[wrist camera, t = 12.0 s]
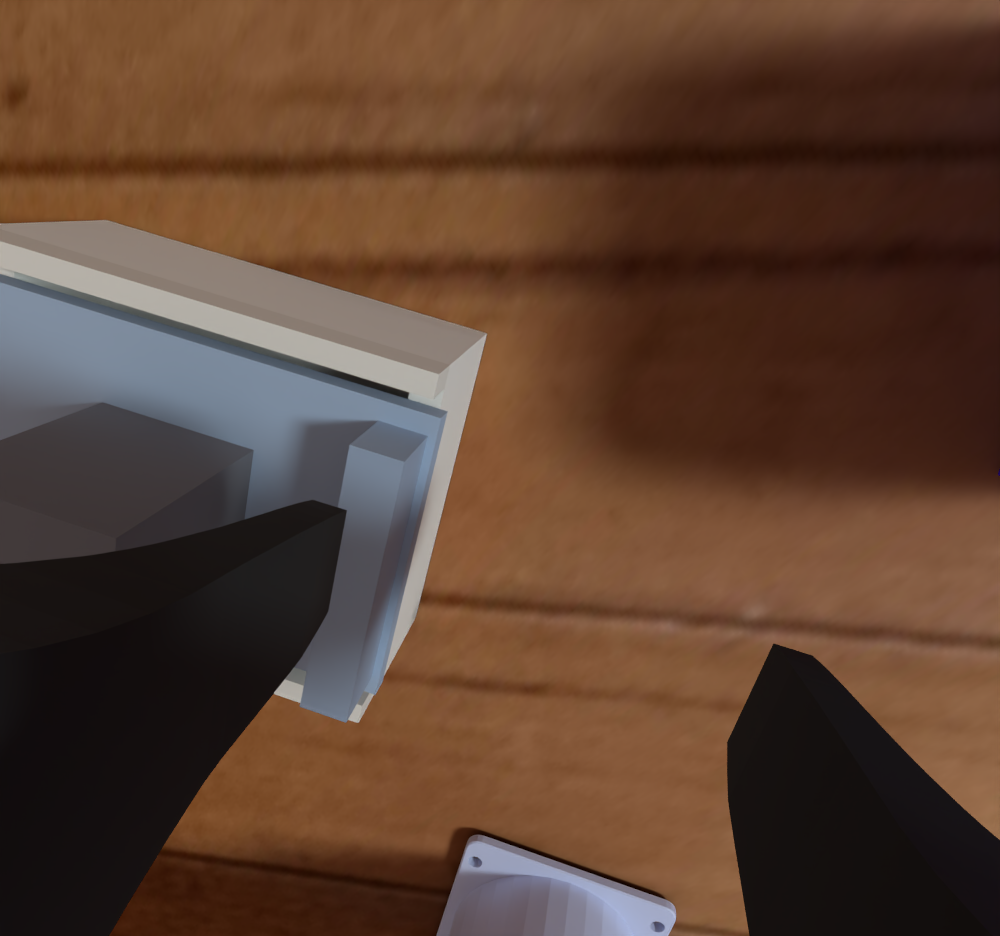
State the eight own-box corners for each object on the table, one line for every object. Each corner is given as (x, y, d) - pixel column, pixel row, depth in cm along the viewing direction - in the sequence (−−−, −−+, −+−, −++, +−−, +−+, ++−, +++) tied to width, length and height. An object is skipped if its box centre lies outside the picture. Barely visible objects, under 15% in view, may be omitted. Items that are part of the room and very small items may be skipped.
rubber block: (234, 588, 19) (105, 712, 14) (95, 541, 19) (-76, 648, 15) (253, 450, 18) (116, 537, 13) (102, 402, 18) (-85, 471, 13)
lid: (382, 681, 20) (350, 741, 18) (0, 551, 21) (-76, 593, 19) (447, 411, 17) (418, 442, 15) (-1, 273, 18) (-93, 283, 16)
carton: (415, 617, 25) (358, 722, 20) (92, 511, 26) (-41, 585, 21) (487, 333, 21) (438, 374, 16) (106, 220, 22) (-52, 225, 17)
